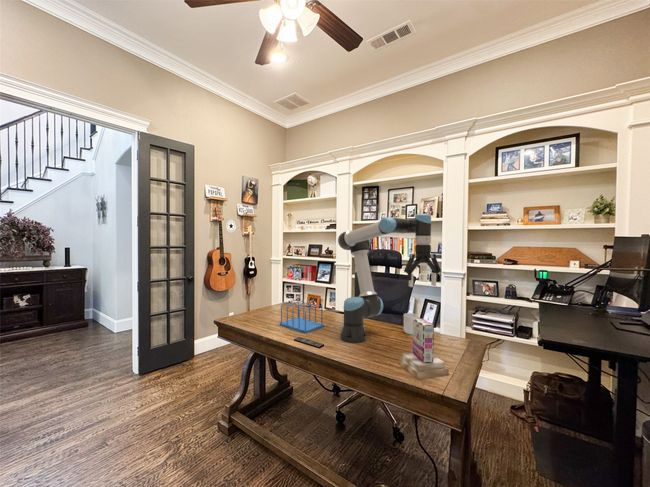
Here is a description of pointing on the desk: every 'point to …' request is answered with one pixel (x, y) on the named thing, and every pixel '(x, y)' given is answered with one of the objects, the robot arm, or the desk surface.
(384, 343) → the desk surface
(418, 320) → the candy bar box
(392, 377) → the desk surface
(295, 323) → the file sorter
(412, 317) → the mug
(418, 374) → the plinth
